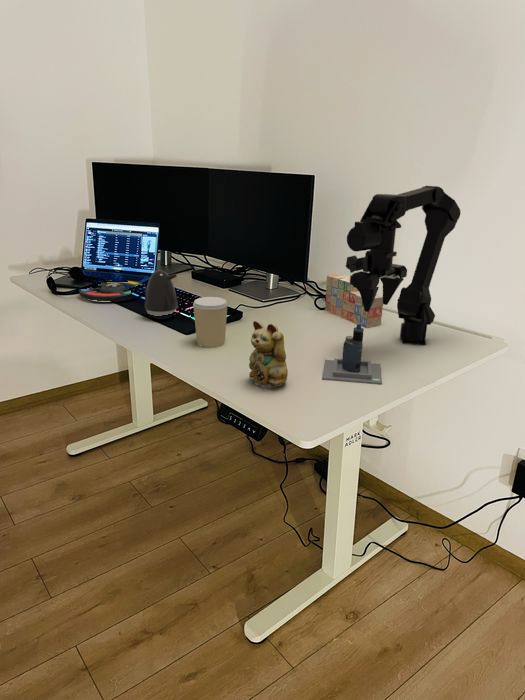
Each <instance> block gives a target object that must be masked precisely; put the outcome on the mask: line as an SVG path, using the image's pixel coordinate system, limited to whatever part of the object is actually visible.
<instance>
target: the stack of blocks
mask: <svg viewBox="0 0 525 700" xmlns="http://www.w3.org/2000/svg"><path fill="white" fill-rule="evenodd" d="M350 276H351V275H347V274H344V273H335V274H328V275H326V286H325V305H324V311H325V310H326V311H325V312H328V313H330V314H332V315H335V316H337V317H339V318H341V319H344V320H347V321H349V322H351V321H352V322H351V323H354V324H355V325H357V324H360V325H361V327H362V328H364V329H365V328H371V327H377V326H378V327H379V326H381V325H382V316H383V309H384V307H383V306H384V304H383V295H379V294H377V293H376V296H375V299H374V301H373V304H372V306H371V309H370V311H369V312H365V310H364V306H363V302H362V298H361V295H360V292H359V290H358V289H357V288H355V287H353V285H350Z"/></svg>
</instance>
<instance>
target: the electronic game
mask: <svg viewBox="0 0 525 700" xmlns="http://www.w3.org/2000/svg"><path fill="white" fill-rule="evenodd" d="M127 281H128V282H107V283H101V284H98V286H102V287H101V288H100V292H93V291H94V290H95V288H92V287H90V288H87V289H80V288H79V290H78V291H79V296H81V297H82V298H84V299H86V300H87V299H90V300H97V301H109V300H111V299H114V298H116V297H121V296H127V295H130V294H132V293H131V292H130V290H126V288H125V286H123V285H122V284H126V285H129V286H131V287H136V286H138V285H144V284H143V283H141V282H138V281H135V280H127ZM125 290H126V291H125ZM124 291H125V292H124ZM133 293H134V292H133ZM90 300H89V301H90Z"/></svg>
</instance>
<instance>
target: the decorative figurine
mask: <svg viewBox="0 0 525 700" xmlns="http://www.w3.org/2000/svg"><path fill="white" fill-rule="evenodd" d="M252 325H253V328H254V331H253V332H252V336H251V338H250V343H251V345H252V347H253V348H255V349H254V350H252V352H251V353H250V355H249V359H248V360H249V363H248V368H249V369H250V370H251V371H250V372H249V373H248V376H249V378H250V379H253V380H254V384H255V385H258V386H260V387H263V388H266V389H268V390H271V389H273V388H275V387H279V386H281V385H284V384H285V382H286V381H287V380H288V375H289V374H288V373H289V372H288V368H287V362H286V361H287V360H286V359H287V354H286V351H285V339H284V338H285V337H284V334H283V333H282V332H281V331H279V328H278V326H277V325H276V324H275V323H269V324H267V326H265V325H264V324H263V323H262V322H261V321H258V320H254V321H253V322H252Z"/></svg>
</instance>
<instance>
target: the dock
mask: <svg viewBox="0 0 525 700" xmlns="http://www.w3.org/2000/svg"><path fill="white" fill-rule="evenodd" d="M321 380H325V381H336V382H346V383H348V382H349V383H357V384H358V383H359V384H360V383H361V384H373V385H383V377H382V366H381V364H380V363H372V360H363V359H361V367H360V372H358V373H353V372H349V371H347V370H345V369H343V366H342V358H335V357H334V359H324V364H323V370H322V377H321Z"/></svg>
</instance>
